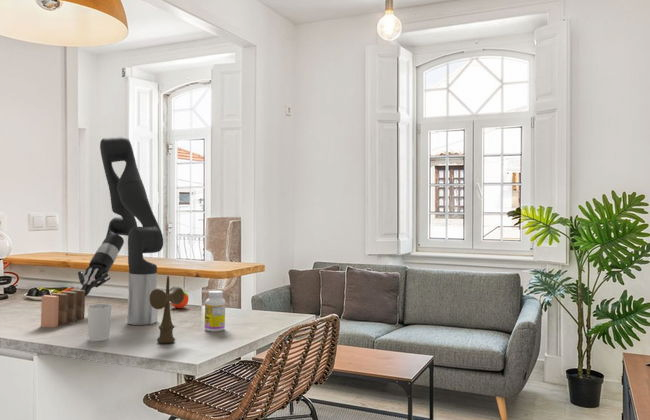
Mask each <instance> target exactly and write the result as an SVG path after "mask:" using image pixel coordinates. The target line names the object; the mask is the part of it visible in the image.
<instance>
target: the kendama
mask: <svg viewBox="0 0 650 420" xmlns="http://www.w3.org/2000/svg"><path fill="white" fill-rule="evenodd" d="M183 291H184V290H183V288H181V287H180V286H177V285H176V286H172V287H170V276H169V275H167V276H166V284H165V291H164V290H163V289H160V288H156V289H154V290H153V291H152V292H151V294H150V304H151V306H152V307H153V308H155V309H158V310H162V309H163V314H162V319H161V322H160V323H161V324H160V325H159V326H158V329H159V337H158V338H157V340H156V342H158V343H159V344H163V345H164V344H165V345H166V344H172V343H174V342H175V341H176V338H175V337H174V335H173V333H174V331H173V330H174V329H175V325H174V324H173V322H172V316H171V307H170V305H171V303H174V304H180V303H182V301H183V299H184V292H185V291H184V292H183Z"/></svg>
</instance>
